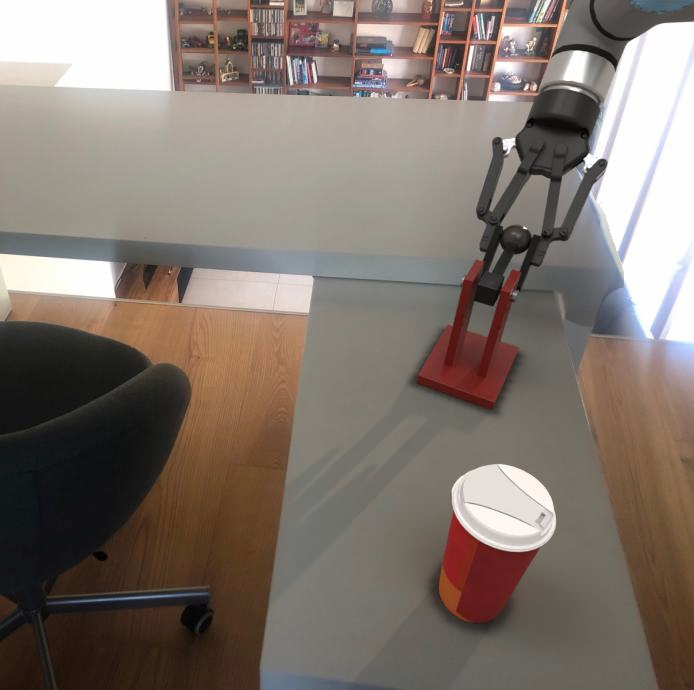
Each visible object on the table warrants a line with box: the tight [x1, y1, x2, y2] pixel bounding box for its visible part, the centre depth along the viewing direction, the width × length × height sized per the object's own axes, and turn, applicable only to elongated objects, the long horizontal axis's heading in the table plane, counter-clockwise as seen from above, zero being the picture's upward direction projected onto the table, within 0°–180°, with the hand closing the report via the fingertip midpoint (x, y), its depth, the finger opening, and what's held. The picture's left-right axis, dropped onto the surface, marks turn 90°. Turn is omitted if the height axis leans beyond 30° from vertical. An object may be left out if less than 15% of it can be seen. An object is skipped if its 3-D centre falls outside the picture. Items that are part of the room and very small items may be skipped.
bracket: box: [416, 259, 521, 411], centre depth 80 cm, size 11×9×14 cm
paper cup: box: [438, 463, 557, 624], centre depth 57 cm, size 8×8×14 cm
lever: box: [474, 223, 533, 307], centre depth 80 cm, size 14×4×4 cm, turn 149°
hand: (499, 283), depth 83 cm, fingers closed on lever, 4 cm apart
